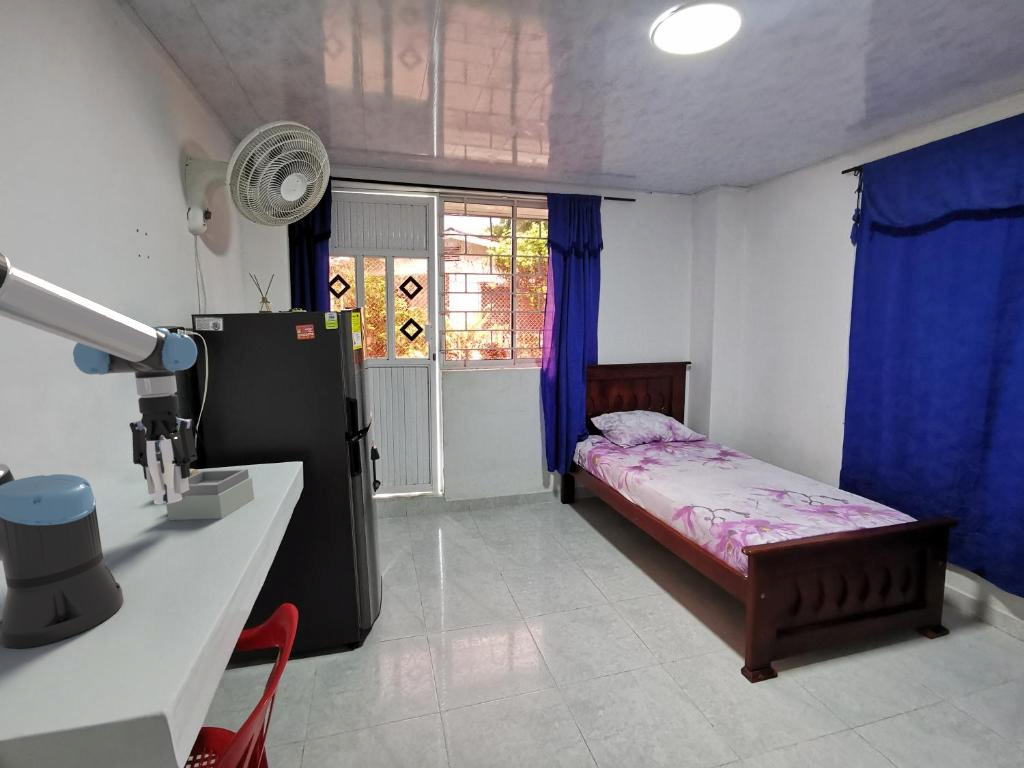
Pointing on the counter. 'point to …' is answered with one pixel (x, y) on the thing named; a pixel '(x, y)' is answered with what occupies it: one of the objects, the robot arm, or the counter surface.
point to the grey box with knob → (213, 495)
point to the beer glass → (163, 470)
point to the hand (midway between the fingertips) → (169, 492)
